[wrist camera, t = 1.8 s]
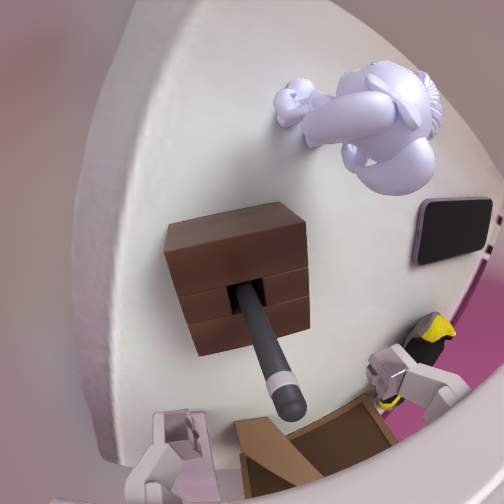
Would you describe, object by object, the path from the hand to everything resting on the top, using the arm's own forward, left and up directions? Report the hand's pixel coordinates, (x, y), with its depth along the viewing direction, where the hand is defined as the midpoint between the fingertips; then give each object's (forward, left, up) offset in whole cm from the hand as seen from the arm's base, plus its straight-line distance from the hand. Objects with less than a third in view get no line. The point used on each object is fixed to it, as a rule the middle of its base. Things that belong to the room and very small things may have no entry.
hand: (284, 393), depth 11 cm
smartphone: (+2, +26, -13) cm, 29 cm away
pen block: (0, 0, -12) cm, 12 cm away
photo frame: (+27, +4, -13) cm, 30 cm away
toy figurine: (-10, +7, -13) cm, 18 cm away
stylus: (0, 0, -12) cm, 12 cm away
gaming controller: (+19, +21, -13) cm, 31 cm away
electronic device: (+22, -10, -13) cm, 27 cm away
